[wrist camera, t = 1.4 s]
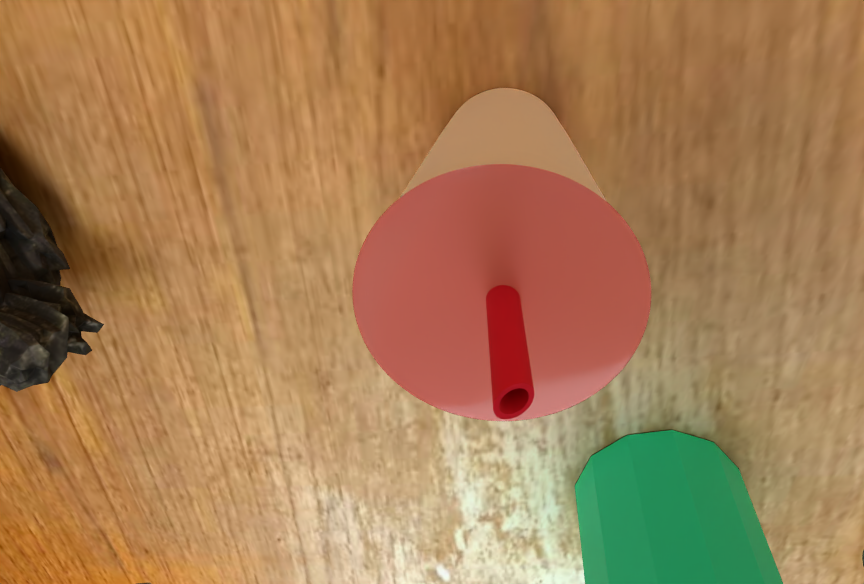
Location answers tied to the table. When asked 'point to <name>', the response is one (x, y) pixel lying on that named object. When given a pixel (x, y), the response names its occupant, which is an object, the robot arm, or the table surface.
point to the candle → (669, 515)
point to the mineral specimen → (34, 296)
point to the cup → (502, 270)
